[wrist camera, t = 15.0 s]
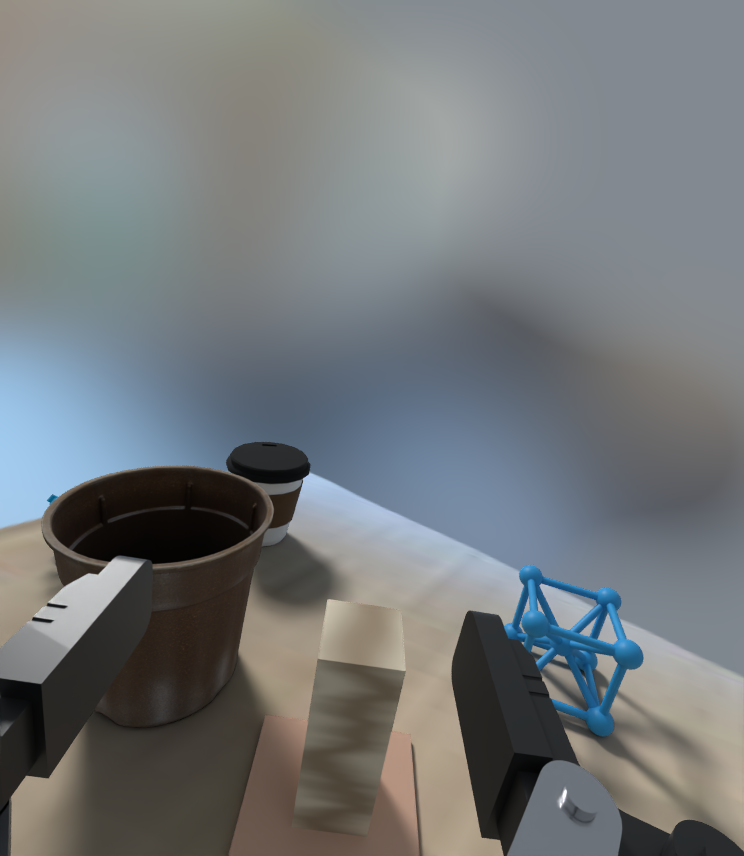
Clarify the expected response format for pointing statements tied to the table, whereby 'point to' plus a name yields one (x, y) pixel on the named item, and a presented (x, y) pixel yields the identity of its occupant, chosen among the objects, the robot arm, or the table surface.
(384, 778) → the terracotta pad
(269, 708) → the table surface
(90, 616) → the robot arm
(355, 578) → the table surface
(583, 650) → the molecular structure
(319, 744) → the maple block
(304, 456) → the coffee cup
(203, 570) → the plant pot
